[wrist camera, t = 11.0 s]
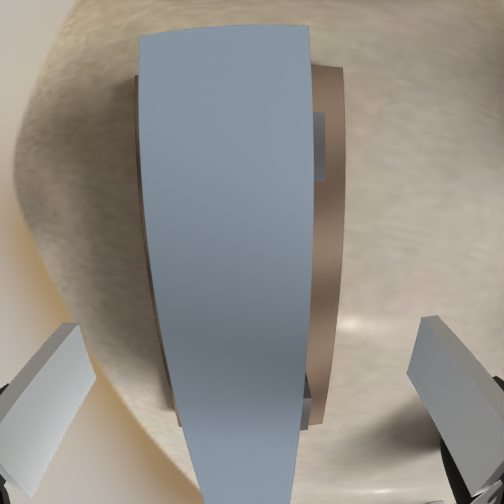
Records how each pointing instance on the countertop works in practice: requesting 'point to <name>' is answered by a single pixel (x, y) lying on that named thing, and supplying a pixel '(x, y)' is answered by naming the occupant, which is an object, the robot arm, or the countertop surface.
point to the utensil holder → (438, 502)
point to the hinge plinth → (324, 237)
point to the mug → (457, 483)
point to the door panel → (231, 243)
